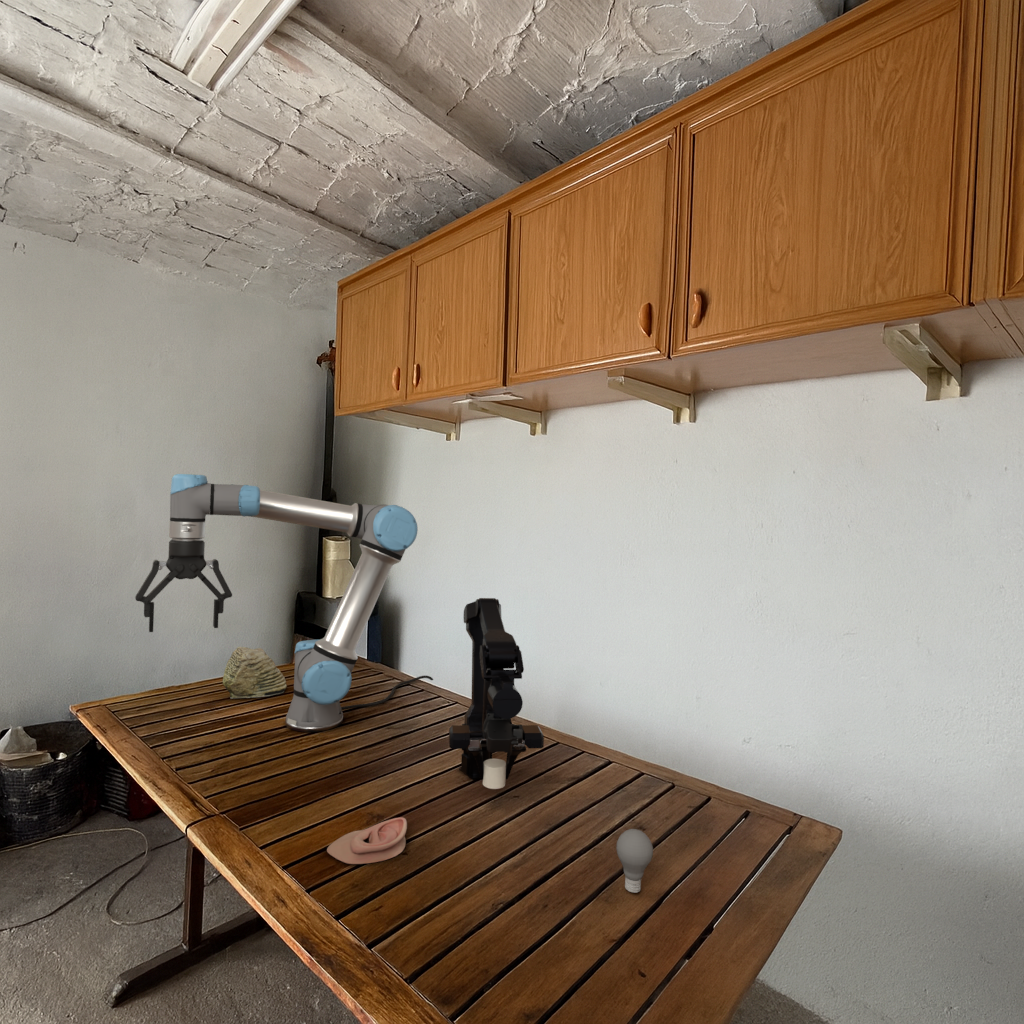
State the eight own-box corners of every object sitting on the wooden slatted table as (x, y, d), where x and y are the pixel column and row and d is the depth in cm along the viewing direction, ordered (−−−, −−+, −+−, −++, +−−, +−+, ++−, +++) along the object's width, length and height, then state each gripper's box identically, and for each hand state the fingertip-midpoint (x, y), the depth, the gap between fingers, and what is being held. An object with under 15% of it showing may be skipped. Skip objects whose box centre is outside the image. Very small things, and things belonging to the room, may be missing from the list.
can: (510, 783, 128) (510, 763, 128) (494, 791, 124) (495, 769, 124) (493, 776, 131) (493, 756, 131) (477, 783, 127) (478, 763, 127)
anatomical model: (319, 836, 111) (348, 806, 122) (318, 859, 111) (348, 826, 122) (390, 848, 108) (414, 816, 119) (389, 871, 108) (413, 836, 119)
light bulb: (610, 879, 108) (613, 822, 108) (644, 879, 109) (647, 822, 109) (619, 902, 102) (622, 840, 102) (655, 901, 103) (658, 840, 103)
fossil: (218, 695, 195) (220, 647, 195) (278, 685, 208) (279, 640, 207) (228, 703, 189) (230, 653, 188) (289, 692, 201) (290, 645, 201)
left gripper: (125, 540, 140) (122, 636, 140) (246, 540, 153) (243, 628, 153) (125, 538, 146) (122, 629, 146) (241, 538, 159) (238, 622, 160)
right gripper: (452, 715, 118) (448, 798, 119) (550, 715, 121) (546, 796, 121) (450, 696, 129) (447, 772, 130) (540, 697, 132) (537, 771, 132)
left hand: (184, 629), depth 150 cm, fingers open, 13 cm apart
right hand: (494, 778), depth 128 cm, fingers closed on can, 4 cm apart
